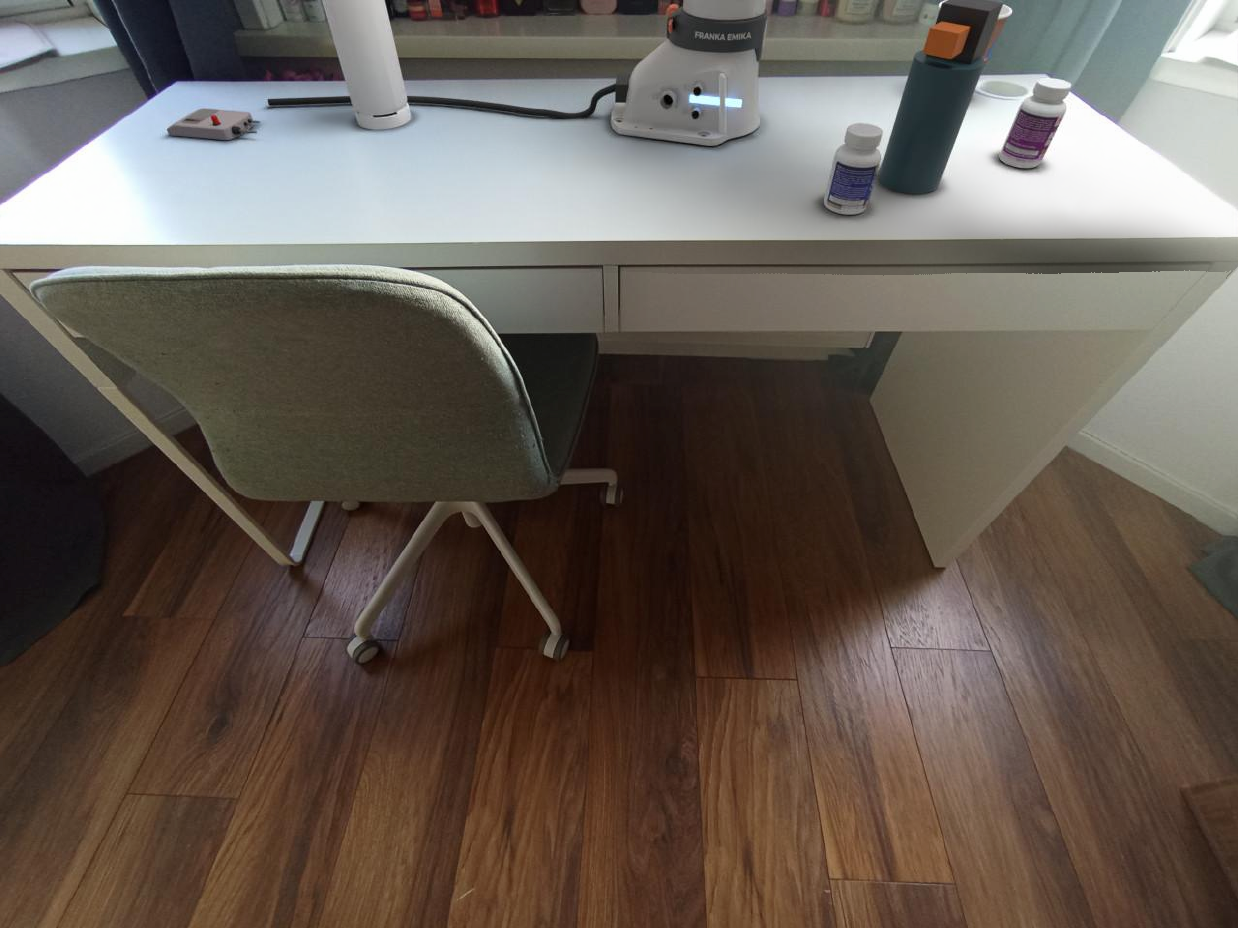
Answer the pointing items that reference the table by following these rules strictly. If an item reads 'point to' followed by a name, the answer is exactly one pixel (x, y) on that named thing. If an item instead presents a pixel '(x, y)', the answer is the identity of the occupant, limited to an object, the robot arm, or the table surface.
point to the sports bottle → (937, 102)
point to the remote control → (213, 124)
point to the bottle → (369, 61)
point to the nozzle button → (946, 40)
